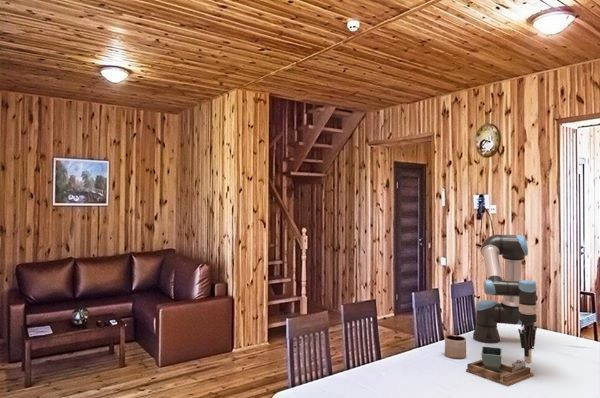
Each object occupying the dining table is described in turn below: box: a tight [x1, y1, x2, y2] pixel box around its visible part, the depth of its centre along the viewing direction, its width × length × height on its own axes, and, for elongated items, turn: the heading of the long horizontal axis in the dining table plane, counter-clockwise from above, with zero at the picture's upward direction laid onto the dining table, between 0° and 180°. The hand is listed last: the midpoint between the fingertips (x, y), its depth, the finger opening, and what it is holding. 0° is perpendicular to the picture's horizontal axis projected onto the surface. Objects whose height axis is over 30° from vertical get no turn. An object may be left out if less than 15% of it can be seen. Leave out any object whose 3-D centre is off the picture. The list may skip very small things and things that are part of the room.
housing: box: [465, 359, 535, 387], centre depth 208 cm, size 21×22×4 cm
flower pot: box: [480, 346, 503, 371], centre depth 210 cm, size 9×9×9 cm
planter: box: [444, 334, 467, 360], centre depth 234 cm, size 11×11×10 cm
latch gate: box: [511, 359, 527, 372], centre depth 205 cm, size 2×9×6 cm, turn 124°
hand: (527, 362), depth 209 cm, fingers closed
